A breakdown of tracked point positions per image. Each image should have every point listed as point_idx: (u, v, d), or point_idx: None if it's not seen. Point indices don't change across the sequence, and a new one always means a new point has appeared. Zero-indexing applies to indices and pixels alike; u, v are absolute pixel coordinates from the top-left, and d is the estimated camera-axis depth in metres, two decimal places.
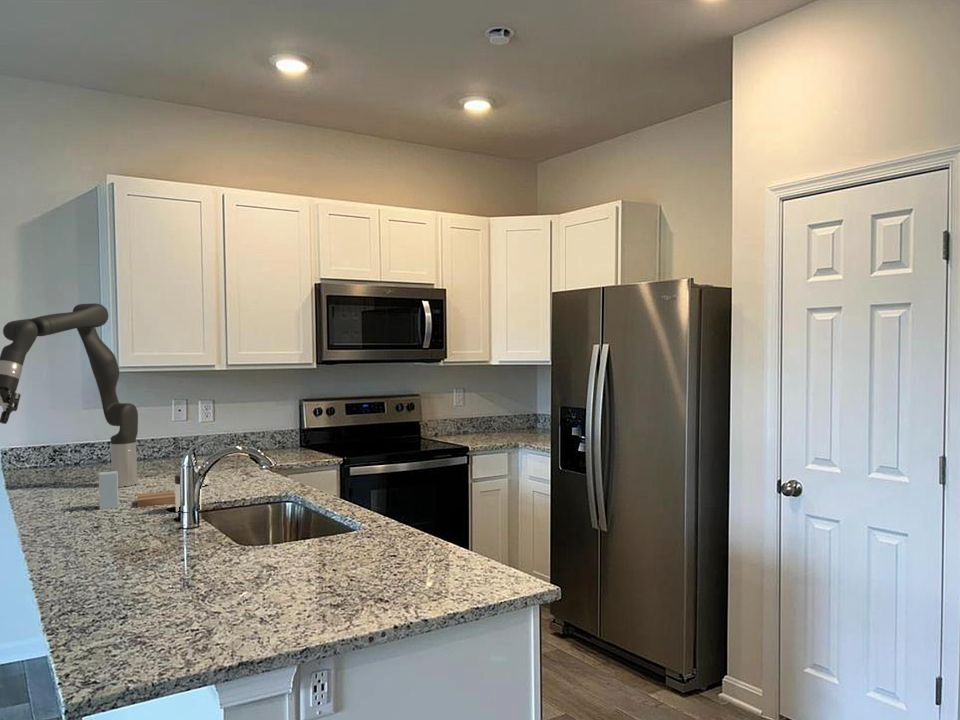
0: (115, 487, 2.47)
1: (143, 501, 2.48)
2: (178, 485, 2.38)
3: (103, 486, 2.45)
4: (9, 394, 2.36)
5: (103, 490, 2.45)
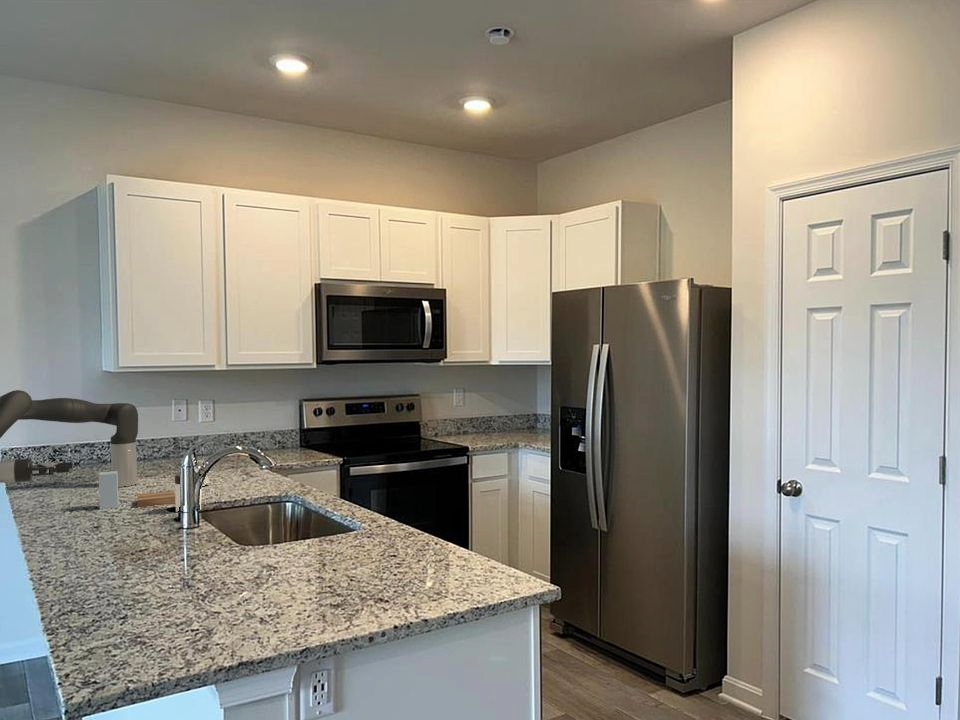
0: (115, 487, 2.47)
1: (143, 501, 2.48)
2: (178, 485, 2.38)
3: (103, 486, 2.45)
4: None
5: (103, 490, 2.45)
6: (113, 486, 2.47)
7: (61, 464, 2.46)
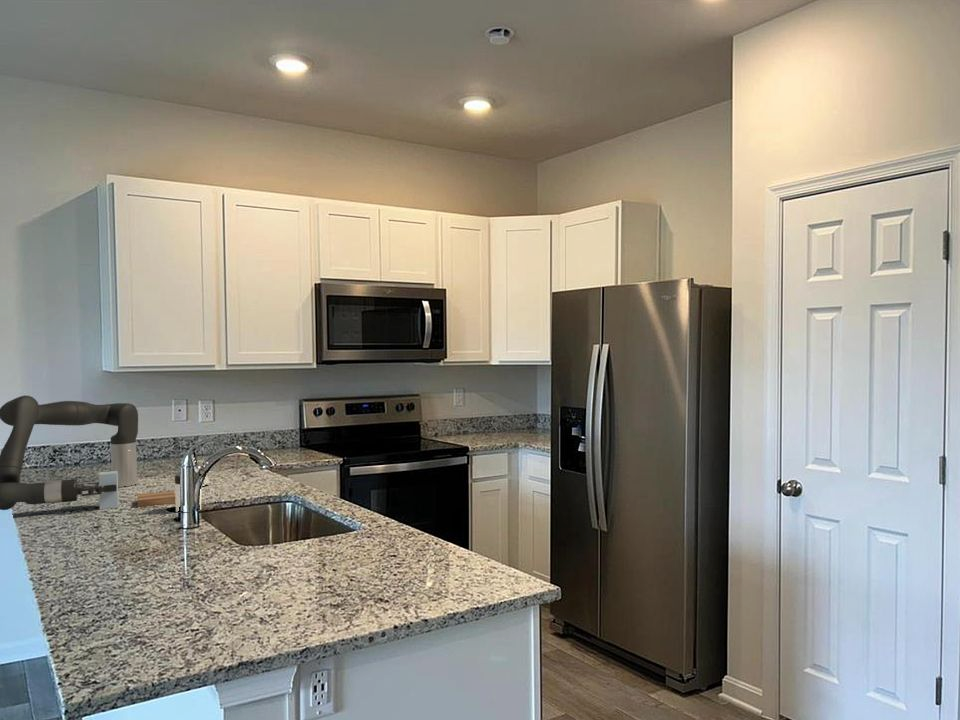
0: None
1: (143, 501, 2.48)
2: (178, 485, 2.38)
3: None
4: None
5: None
6: None
7: None
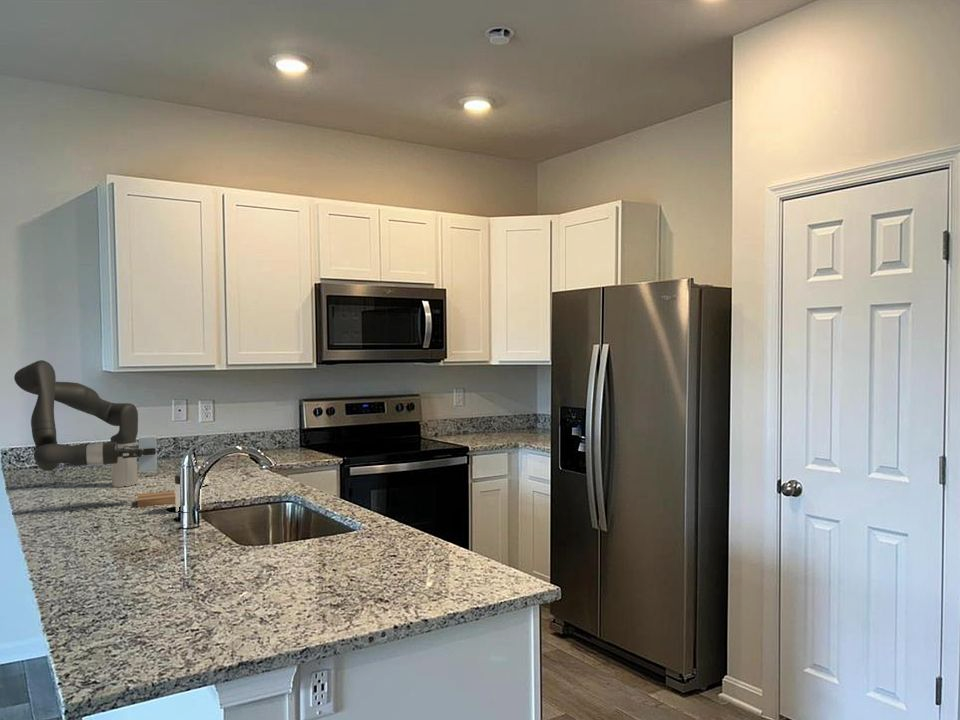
0: None
1: (143, 501, 2.48)
2: (178, 485, 2.38)
3: None
4: None
5: None
6: None
7: None
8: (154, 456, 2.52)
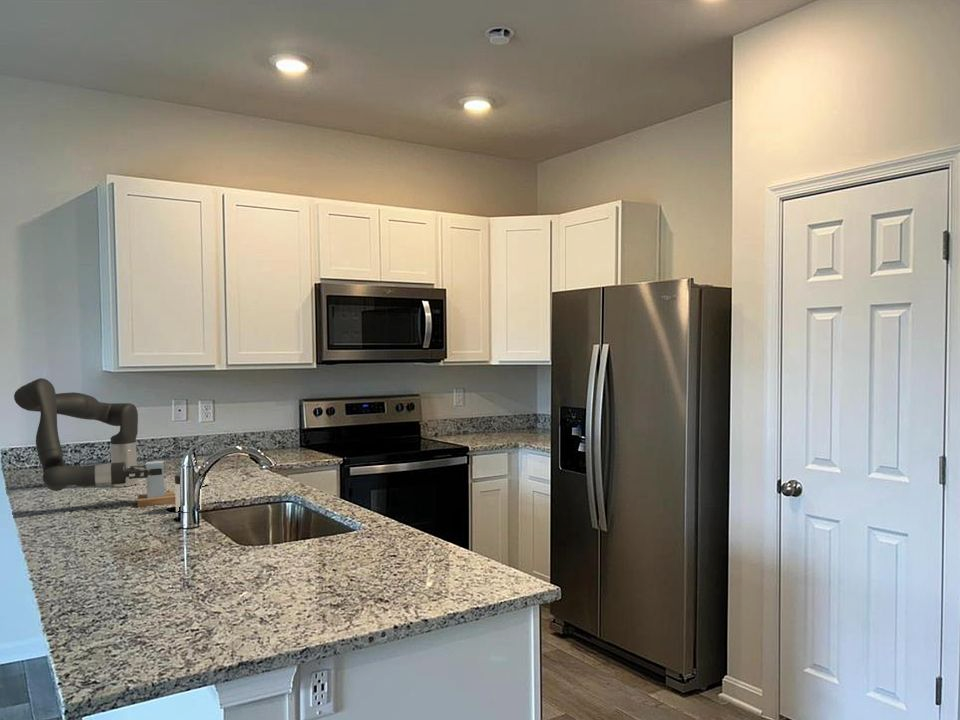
0: (162, 476, 2.53)
1: (143, 502, 2.48)
2: (178, 485, 2.38)
3: None
4: None
5: (150, 479, 2.52)
6: (160, 475, 2.53)
7: None
8: (162, 482, 2.53)
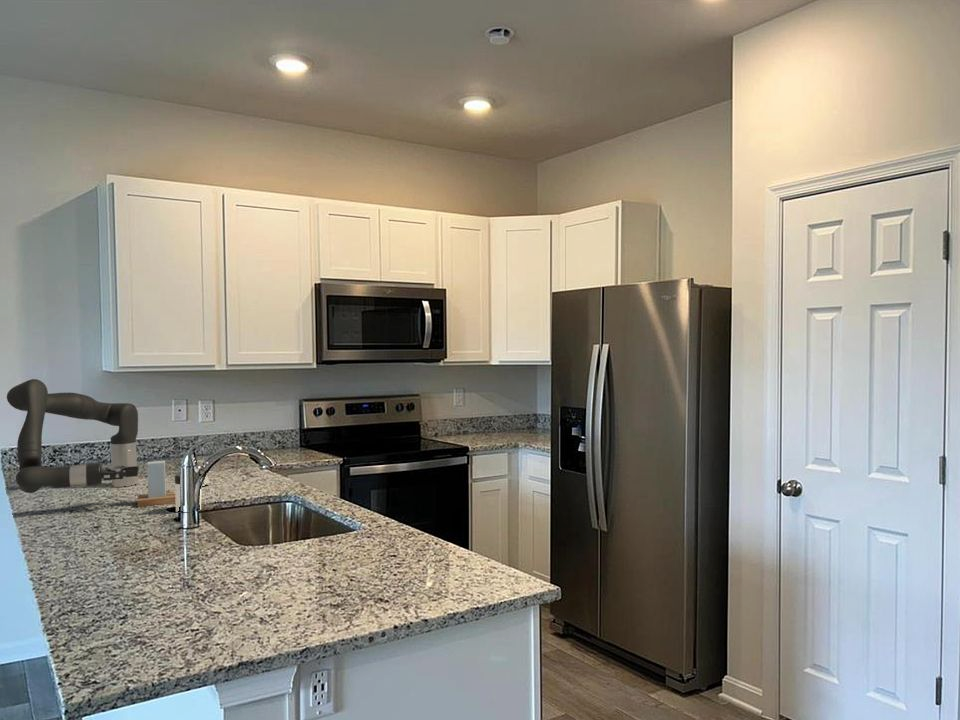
0: (163, 476, 2.53)
1: (143, 502, 2.48)
2: (178, 485, 2.38)
3: (151, 475, 2.52)
4: None
5: (151, 479, 2.52)
6: (161, 475, 2.53)
7: (128, 468, 2.54)
8: (163, 482, 2.53)
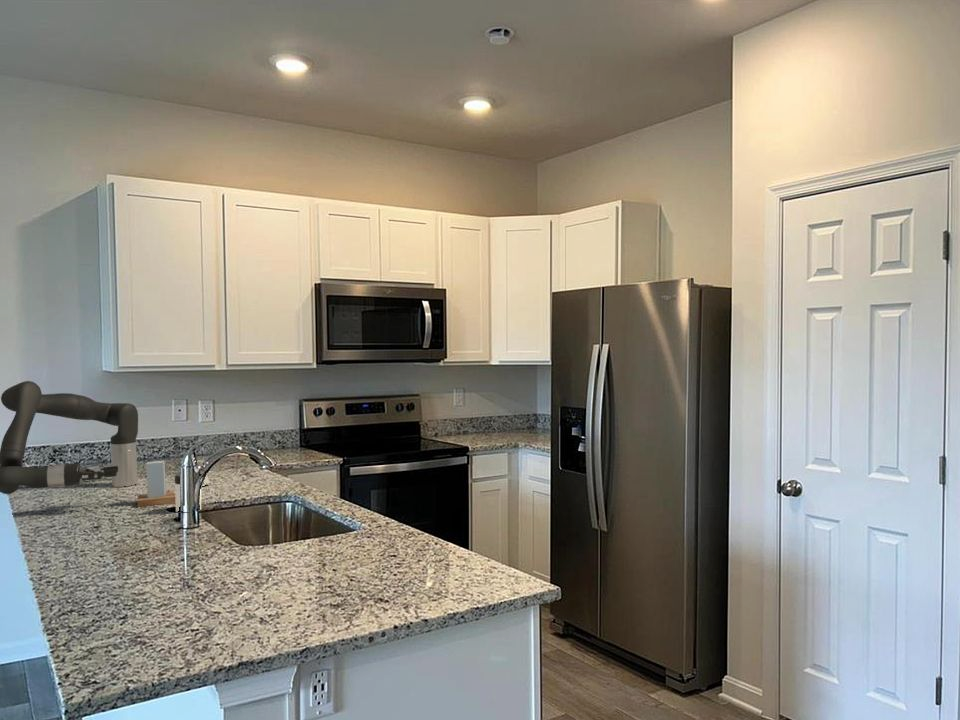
0: (162, 476, 2.53)
1: (143, 502, 2.48)
2: (178, 485, 2.38)
3: (150, 475, 2.51)
4: None
5: (151, 479, 2.51)
6: (160, 475, 2.53)
7: (107, 468, 2.52)
8: (162, 482, 2.53)
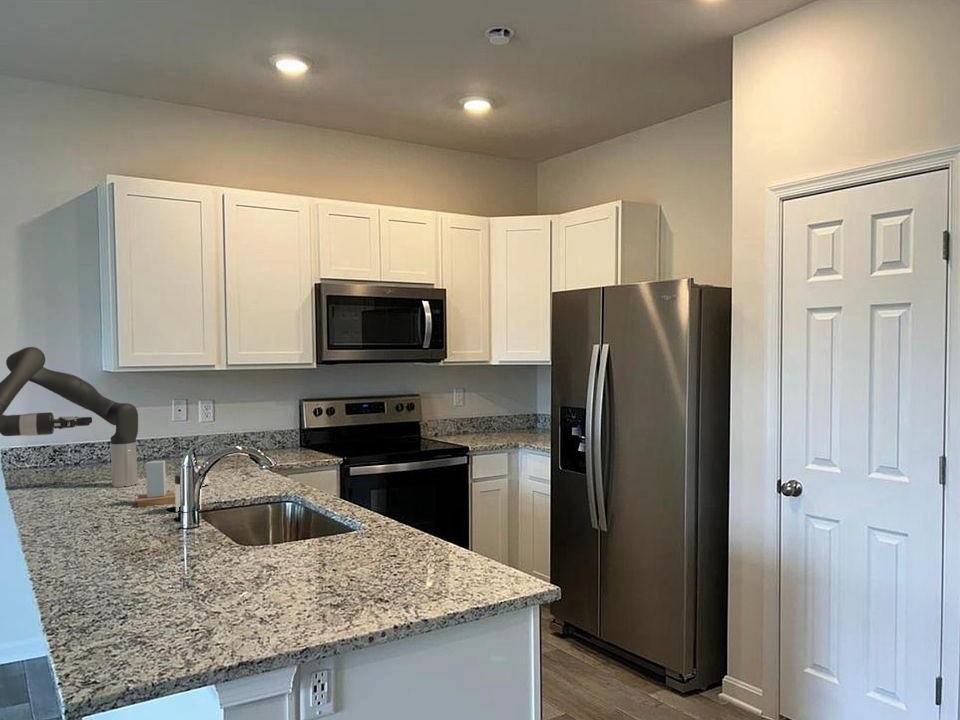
0: (162, 475, 2.53)
1: (143, 502, 2.48)
2: (178, 485, 2.38)
3: (150, 474, 2.52)
4: None
5: (150, 479, 2.52)
6: (160, 474, 2.53)
7: (81, 419, 2.52)
8: (161, 481, 2.53)
